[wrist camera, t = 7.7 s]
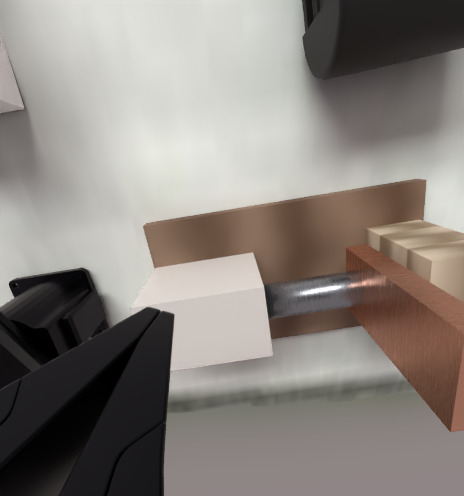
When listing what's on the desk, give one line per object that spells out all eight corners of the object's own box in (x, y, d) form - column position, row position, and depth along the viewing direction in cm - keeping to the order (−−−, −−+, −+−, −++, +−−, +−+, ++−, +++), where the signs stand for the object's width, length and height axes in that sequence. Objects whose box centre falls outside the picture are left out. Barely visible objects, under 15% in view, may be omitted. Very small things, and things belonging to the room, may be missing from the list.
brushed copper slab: (251, 321, 21) (275, 457, 11) (242, 263, 19) (261, 365, 10) (422, 295, 21) (591, 411, 11) (427, 234, 19) (630, 309, 10)
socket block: (365, 295, 23) (423, 351, 16) (365, 228, 21) (432, 261, 14) (414, 287, 23) (493, 341, 16) (419, 219, 21) (511, 248, 14)
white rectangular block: (169, 320, 23) (151, 374, 17) (154, 268, 21) (129, 308, 16) (260, 306, 23) (273, 355, 17) (253, 252, 21) (263, 287, 16)
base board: (179, 346, 25) (178, 353, 24) (146, 223, 21) (143, 226, 20) (408, 310, 25) (415, 317, 24) (417, 179, 21) (426, 179, 20)
